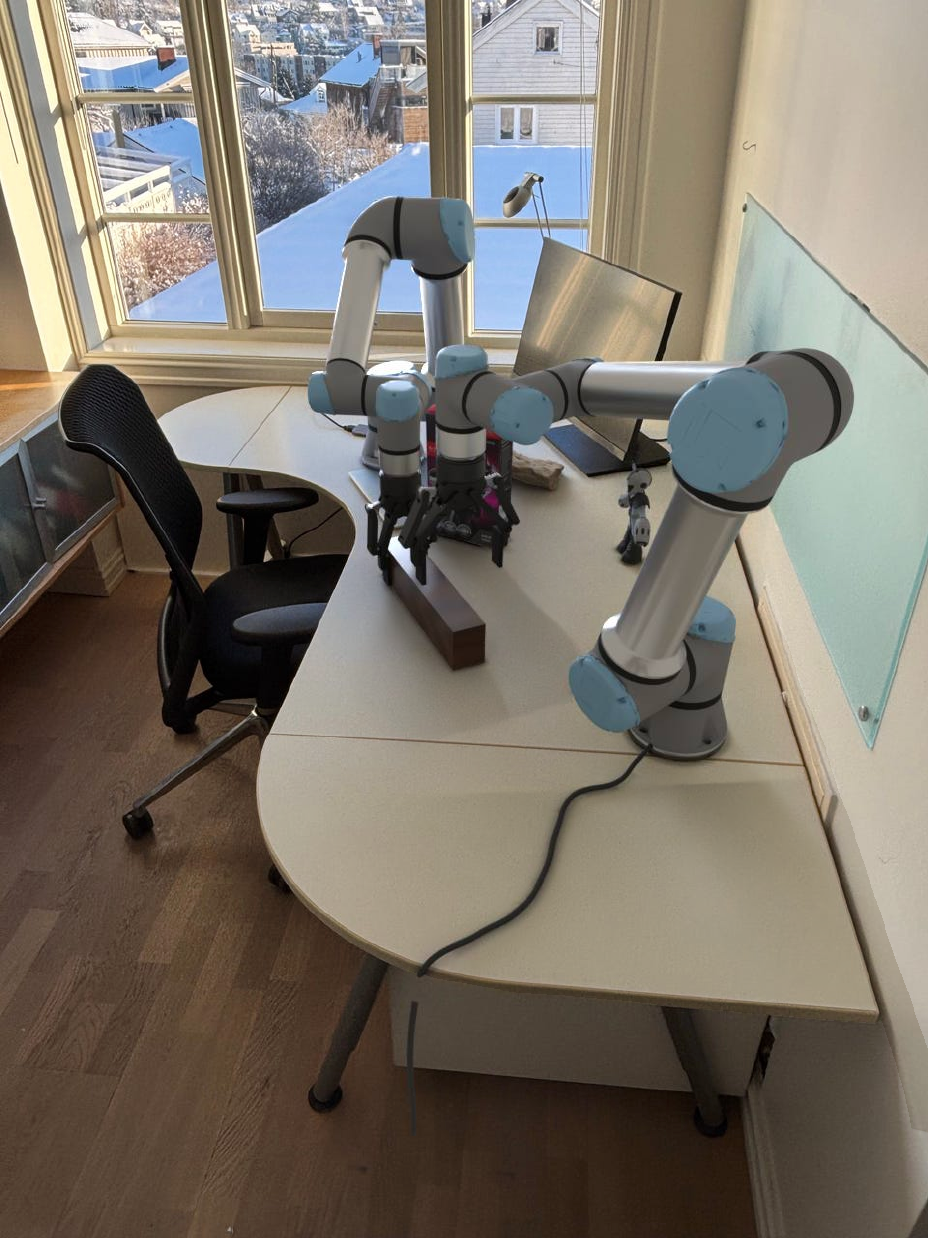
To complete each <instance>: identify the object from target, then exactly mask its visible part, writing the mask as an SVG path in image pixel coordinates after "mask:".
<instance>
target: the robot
mask: <svg viewBox="0 0 928 1238" xmlns="http://www.w3.org/2000/svg"><path fill="white" fill-rule="evenodd" d="M631 466H632V471H630V472H629V473H628V474H627V477H626V485H627V486H626V487H627V491H624V492H622V493H621V494H620V495H619V496H618V498H617V504H618V506H619V507H620V508H621V509H622V508H623V509H628V510H627V511H628V512H627V514H628V517H629V519H628V520H629V521H628V525H627V527H626V528H627V529H626V531H625V533H624V535H623V537H622V540H621V541H620V542H619V543H618V545H617V546H616V548H615V550H617V552H618V553H620V554H622V555H621V558H620V562H621V563H623V564H625V565H631V566H632V565H633V566H635V565H637V564H641V563H643V548H646V547H647V546H648V545H649V544H650V540H651V531H652V530H651V524H650V520H649V518H647V515H646V508H648V510H650V509H651V505H650V500H649V496H648V495H647V494H646V491H645V490H647V489H648V487H650V486H651V484H652V482H653V477H652V473H651V472H650V471H649V470H648V469H646V468H642V467H640V468H637V466H636V463H635V460H634V459H632V461H631Z"/></svg>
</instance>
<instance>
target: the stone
mask: <svg viewBox="0 0 928 1238" xmlns="http://www.w3.org/2000/svg"><path fill="white" fill-rule="evenodd" d="M564 469H565V466H564V465H563V464H561V463H559V462H557V461H553V460H550V459H540V458H537V457H536V458H535V457H529V456H526V455H523V453H519V452H517V451H516V450H515V449H513V459H512V478H513V479H515V480H518V481H520V482H524V483H526V484H528V485H532V486H541V487H543V488H545V489H547V490H554V489H555V488H556V486H557V484H558V479H559V477H560V476H561V474H562V472H563V470H564Z"/></svg>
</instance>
